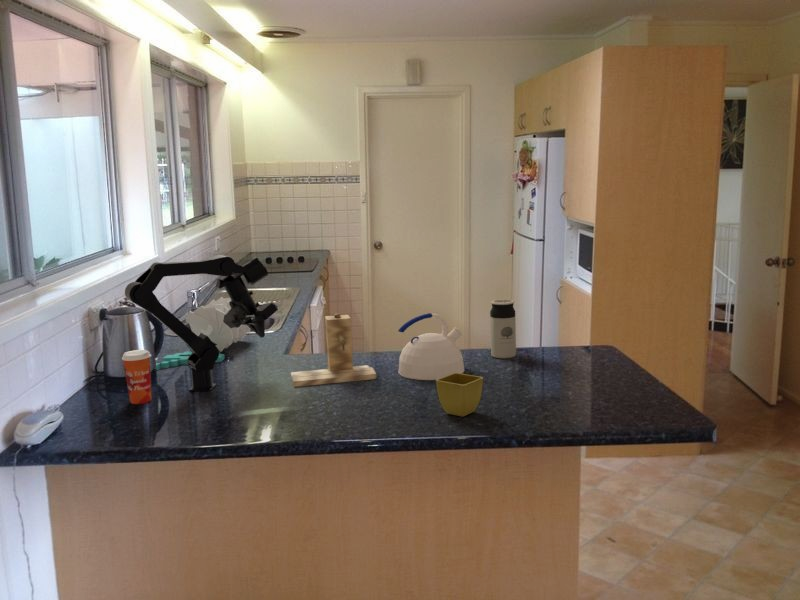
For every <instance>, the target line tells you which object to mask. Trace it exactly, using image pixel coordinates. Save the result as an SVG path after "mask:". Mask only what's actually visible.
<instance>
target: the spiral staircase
mask: <svg viewBox="0 0 800 600" xmlns="http://www.w3.org/2000/svg"><path fill="white" fill-rule="evenodd" d="M230 301H231V299H230V297H226V298H224V297H223V296H221V297H219V298H218V299H217V300H215V299H212V300H211V301H210V302H209V303H207V304H206V305H205V306H204V305H200V306H198V307H197V308H196V309H195V310H194V311H191V310H190V311H189V312H188V314H187V317H186V319H185V322H186V323H188V324H189V327H190V330H191V331H192V332H194V333H195V334H196V335H197V336H199V335H200V333H203V334H204V335H206V336H208V337H209V339H210V340H211V341H212V342H214V343H216V344H217V345H216V347H217V348H218V350H219V353H222V352H223V351H224V350H227V349H228V348H229V347H230V346H231V345H232V344H233V343H238V341H239V340H242V339H244V337H245V336H246V334H247V333H251V328H249V327H248V326H246V325H241V326H240V327H238V328H236V327H235V328H230V327H229V326H227V325H226V324H225V323H224V322H223V320H224V315H225V314H227V313H228V311H229V310H230V309H231V306H230V305H229V304H230V303H229V302H230Z"/></svg>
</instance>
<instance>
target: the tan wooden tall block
mask: <svg viewBox="0 0 800 600" xmlns="http://www.w3.org/2000/svg"><path fill="white" fill-rule="evenodd" d="M324 322H325V323H324V325H325V341H326V354H327V356H326V357H327V369H328V371H338V370H348V369H353V367H354V360H353V359H354V358H353V343H352V342H353V340H352V324H351V317H350V315H349V314H341V313H334V315H326V316H324Z"/></svg>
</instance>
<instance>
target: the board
mask: <svg viewBox="0 0 800 600" xmlns="http://www.w3.org/2000/svg"><path fill="white" fill-rule="evenodd" d="M290 375H291V379H292V385H293V387H294V388H295V387H297V388H298V387H306V386H317V385H327V384H335V383H336V384H337V383H347V382H357V381H368V380H376V379H377V372H376V371H375V369H374V368H373V367H371V366H369V365H368V364H367V365H366V364H365V365H356V366H354V365H353V369H348V370H338V371H328V368H325V369H314V370H301V371H291V372H290Z"/></svg>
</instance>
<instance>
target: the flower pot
mask: <svg viewBox="0 0 800 600" xmlns="http://www.w3.org/2000/svg"><path fill="white" fill-rule="evenodd" d="M483 381H484V377H483V376H479V375H478V376H477V375H473V374H472V375H471V374H465V373H462V374H461V373H453V374H450V375H448V376H445V377H442V378H440V379H437V380H435V384H436V385H435V386H436V390H437V395H438V400H439V403H440V405H441V406H442V408H443V410H444V411H445V413H446V414H447V415H453V416H459V417H465V416H467V415H470V414H472V413H474V412H475V411H476V409H477V407H478V405H479V403H480V401H481V397H482V393H483V392H482V391H483V384H484V382H483Z"/></svg>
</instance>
